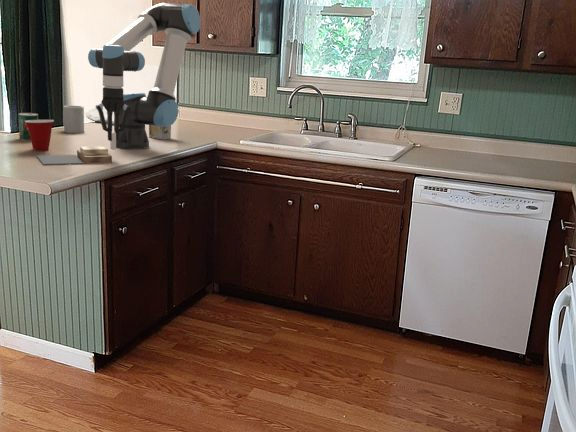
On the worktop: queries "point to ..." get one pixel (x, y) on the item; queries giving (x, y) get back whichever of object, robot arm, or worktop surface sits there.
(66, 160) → the rubber mat
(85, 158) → the walnut deck
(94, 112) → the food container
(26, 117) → the canned tomato
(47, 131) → the plastic cup
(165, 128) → the coffee box
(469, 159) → the worktop surface
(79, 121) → the cup
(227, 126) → the worktop surface
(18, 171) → the worktop surface
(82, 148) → the birch tile
